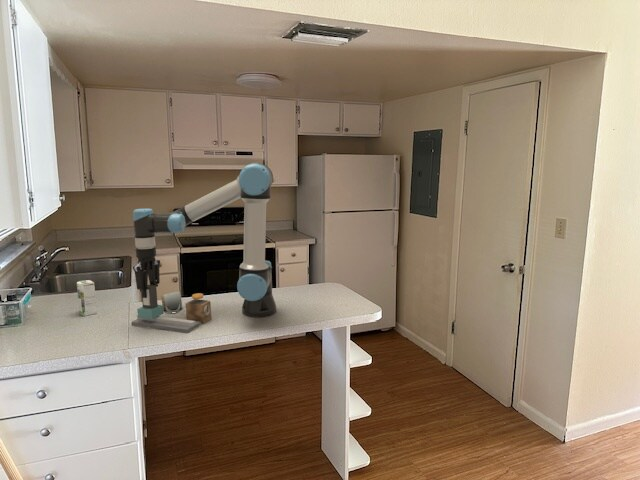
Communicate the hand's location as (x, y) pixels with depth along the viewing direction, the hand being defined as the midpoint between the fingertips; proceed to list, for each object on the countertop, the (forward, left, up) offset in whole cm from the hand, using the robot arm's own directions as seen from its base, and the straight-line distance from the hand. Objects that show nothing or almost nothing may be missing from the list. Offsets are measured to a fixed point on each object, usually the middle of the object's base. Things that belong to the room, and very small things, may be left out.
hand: (150, 303), depth 181 cm
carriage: (0, 0, -5) cm, 5 cm away
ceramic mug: (+2, -17, -9) cm, 20 cm away
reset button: (-17, -9, +1) cm, 19 cm away
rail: (-7, 0, -9) cm, 11 cm away
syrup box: (+35, -1, -9) cm, 36 cm away
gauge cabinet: (-17, -9, -9) cm, 21 cm away
